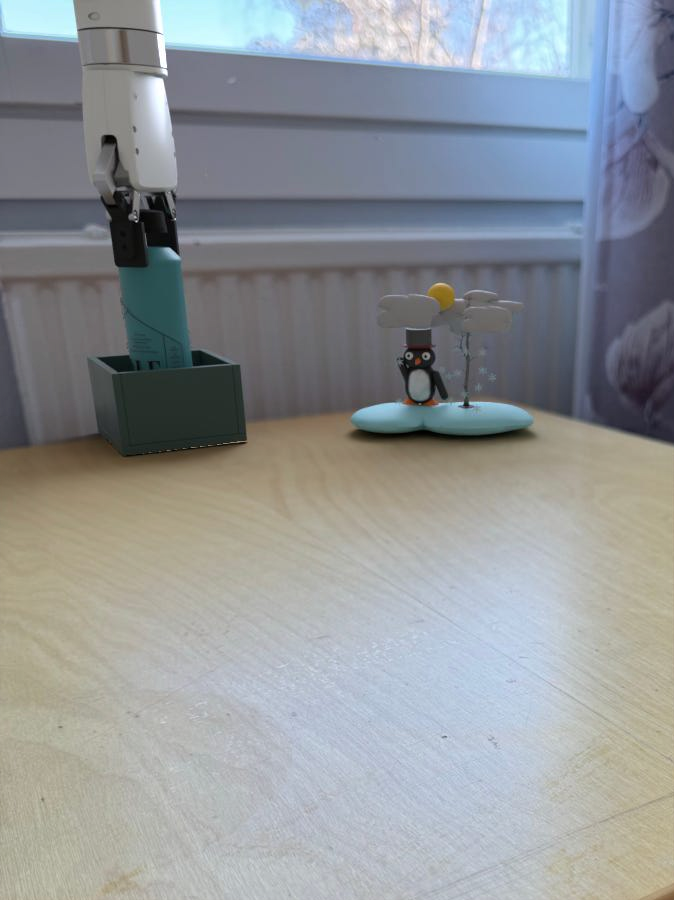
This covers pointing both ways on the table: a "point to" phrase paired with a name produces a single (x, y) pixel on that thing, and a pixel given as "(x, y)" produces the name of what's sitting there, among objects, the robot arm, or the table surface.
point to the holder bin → (168, 403)
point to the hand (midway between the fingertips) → (148, 263)
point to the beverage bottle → (155, 306)
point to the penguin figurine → (423, 380)
